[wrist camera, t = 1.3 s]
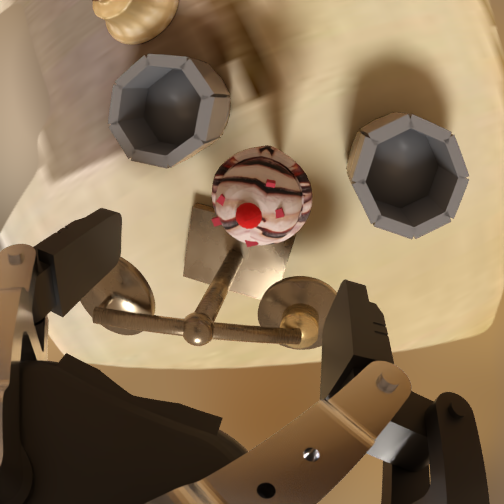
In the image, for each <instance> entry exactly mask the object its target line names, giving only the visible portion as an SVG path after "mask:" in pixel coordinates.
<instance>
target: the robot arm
mask: <svg viewBox="0 0 504 504" xmlns="http://www.w3.org/2000/svg"><path fill="white" fill-rule="evenodd" d="M121 229H122V217H121V215H120V213H118V212H114V211H111V210H107V209H104V208H100V209H98V210H97V211H95V212H93V213H92V214H90V215H88V216H87V217H85V218H82V219H79V220H75V221H73V222H72V223H70V224H68V225H67V226H65V228H62V229H60V230H59V231H58V232H57V233H54V234H52V235H51V236H49V237H48V238H46V239H45V240H43V241H42V242H40V243H39V244H37V245H36V246H34V247H32V246H30V245H26V244H16V245H12V246H9V247H6V248H5V249H3V250H2V251H1V252H0V504H317V503H318V502H319V501H320V500H321V499H322V498H323V497H325V496H326V495H327V494H328V493H329V492H330V491H331V490H332V489H333V488H334V487H335V486H336V485H337V484H338V483H339V482H340V481H341V480H342V479H343V478H344V477H345V476H346V474H348V472H349V471H350V470H351V469H352V468H353V467H354V466H355V465H356V464H357V463H358V462H359V461H360V459H361V458H362V457H363V456H364V455H365V454H366V453H367V454H369V455H371V456H374V457H376V458H378V459H381V460H383V481H382V501H381V504H490V503H489V494H488V486H487V479H486V472H485V466H484V461H483V455H482V450H481V444H480V440H479V435H478V430H477V426H476V422H475V418H474V414H473V411H472V408H471V407H470V405H469V404H468V402H467V401H466V400H465V399H464V398H462V397H461V396H459V395H458V394H455V393H452V392H445V393H442V394H440V395H439V397H438V398H437V399H436V400H435V401H434V402H433V401H431V400H429V399H427V398H424V397H423V396H420V395H418V394H416V393H414V392H412V391H411V383H410V380H409V378H408V376H407V375H406V374H405V373H404V371H403V370H401V369H400V368H399V367H397V366H396V365H394V362H393V357H392V352H391V347H390V342H389V337H388V336H387V335H388V333H387V328H386V327H385V326H386V324H385V320H384V315H383V313H382V312H381V311H380V309H379V308H378V306H377V305H376V304H375V303H371V302H369V299H368V294H367V289H366V286H365V285H362V284H358V283H355V282H351V281H348V280H343V282H342V283H341V285H340V288H339V290H338V292H337V294H336V297H335V299H334V301H333V303H332V306H331V308H330V310H329V312H328V315H327V317H326V320H325V323H324V327H323V333H322V365H321V385H320V401H319V402H317V403H316V404H314V405H313V406H312V407H311V408H309V409H308V410H307V411H305V412H304V413H303V414H301V415H300V416H299V417H297V418H296V419H295V420H294V421H292V422H291V423H289V424H288V425H286V426H285V427H284V428H282V429H281V430H280V431H278V432H277V433H275V434H274V435H272V436H271V437H270V438H268V439H267V440H265V441H264V442H262V443H261V444H259V445H258V446H256V447H255V448H253V449H252V450H250V451H249V452H248V451H247V450H246V449H245V448H244V447H243V446H242V445H241V444H240V443H238V442H237V441H236V440H235V439H233V438H232V437H230V436H229V435H228V434H226V433H224V432H223V431H221V430H219V427H220V424H221V421H222V418H221V417H218V416H215V415H212V414H208V413H205V412H202V411H199V410H196V409H193V408H190V407H188V406H185V405H182V404H179V403H172V402H166V401H160V400H154V399H148V398H142V397H137V396H133V395H131V394H129V393H128V392H127V391H125V390H124V389H123V388H121V387H120V386H119V385H117V384H116V383H115V382H114V381H112V380H111V379H110V378H109V377H107V376H106V375H105V374H104V373H102V372H101V371H100V370H98V369H96V368H94V367H92V366H90V365H88V364H86V363H84V362H82V361H80V360H79V359H77V358H75V357H73V356H71V355H69V354H67V353H66V354H65V355H64V357H63V358H62V359H61V360H60V362H59V363H58V362H52V361H48V317H47V314H48V313H49V312H50V311H52V312H54V313H56V314H57V315H59V316H61V317H64V316H65V315H66V314H67V313H68V312H69V311H70V310H71V309H72V308H73V307H74V306H75V305H76V304H77V303H78V302H79V301H80V300H81V299H82V298H83V297H84V296H85V295H86V294H87V293H88V292H89V291H90V290H91V289H92V288H93V287H94V286H95V285H96V284H97V283H98V282H99V281H101V280H102V279H103V278H104V277H105V276H106V275H107V274H108V273H109V272H110V271H111V270H112V269H113V268H114V267H115V266H116V265H117V263H118V261H119V258H120V254H121ZM429 464H430V475H431V482H430V478H429Z"/></svg>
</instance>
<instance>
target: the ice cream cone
mask: <svg viewBox="0 0 504 504" xmlns="http://www.w3.org/2000/svg"><path fill="white" fill-rule="evenodd" d="M212 202H213V207H214V210H215V213H216V215H217V217H214V218H212V219H211V220H212V222H213V225H214V227H215V226H219V225H222V226H223V227H224V229H225V230H226V231H227V232H228V233H229V234H230V235H231V236H232V237H234V238H236V239H237V240H239V241H241V242H244V243H246V245H247V247H251V246H255V245H270V244H277V243H279V242H282V241H285V240H286V239H288V238H290V237H291V236H293V235H294V234H295V233H296V232H297V231H299V230H300V228H301V227H302V226H303V225H304V223H305V222H306V220H307V218H308V216H309V214H310V211H311V206H312V190H311V185H310V182H309V180H308V178H307V175H306V174H305V172H304V171H303V170H302V168H301V167H300V166H299V165H298V164H297V163H296V162H295V161H294V160H293V159H292V158H290V157H289V156H287V155H286V154H285V153H283V152H282V151H280V150H278V149H277V148H275V147H272V146H268V145H267V146H261V147H254V148H249V149H245V150H243V151H241V152H238V153H236V154H235V155H233V156H232V157H230V158H229V159H227V160H226V161H225V162H224V163H223V164H222V165H221V166H220V167H219V169H218V171H217V172H216V174H215V177H214V181H213V186H212Z"/></svg>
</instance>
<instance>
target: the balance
mask: <svg viewBox="0 0 504 504" xmlns="http://www.w3.org/2000/svg"><path fill="white" fill-rule="evenodd" d="M214 217H217V215H216V213H215V210H214V207H210V206H206V205H203V204H199V203H197V204H195V205H194V206H193V209H192V215H191V222H190V229H189V236H188V243H187V250H186V257H185V265H184V273H183V276H185V277H188V278H191V279H194V280H197V281H200V282H203V283H207V284H210V285H209V287H208V289H207V291H206V292H205V294H204V296H203V298H202V300H201V301H200V303H199V305H198V307H197V308H196V310H195V312H194V313H191V314H189V315H188V316H186V317H185V319H180V318H172V317H164V316H156V315H154V313H155V300H154V296H153V293H152V290H151V288H150V286H149V284H148V282H147V281H146V279H145V278H144V276H143V275H142V274H141V273H140V272H139V270H138V269H137V268H136V267H134V266H133V265H132V264H131V263H130V262H128V261H127V260H125V259H124V258H122V257H120V258H119V261H118V263H117V265H116V266H115V267H114V268H113V269H112V270H111V271H110V272H109V273H108V274H107V275H106V276H105V277H104V278H103V279H102V280H101V281H99V282H98V283H97V284H96V285H95V286H94V287H93V288H92V289H91V290H90V291H89V292H88V293H87V294H86V295H85V296H84V297H83V298H82V299H81V300H80V301H81V303H82V305H83V306H84V308H85V309H86V311H87V312H88V313H89V314H90V315H91V317H92V318H93V323H96V324H101V325H102V326H103V327H105V328H107V329H108V330H110V331H113V332H115V333H118V334H122V335H135V334H138V333H140V332H142V331H148V332H155V333H163V334H171V335H179V336H183V337H184V339H185V340H186V341H187V342H188V343H190V344H191V345H194V346H202V345H205V344H207V343H209V342H210V341H211V340H212V339H218V340H229V341H242V342H256V343H273V344H280V345H282V346H285V347H288V348H292V349H303V350H304V349H312V348H316V347H320V346H322V333H323V327H324V323H325V320H326V317H327V315H328V312H329V310H330V308H331V306H332V303H333V301H334V299H335V297H336V294H337V292H336V291H335V290H334V289H333V288H332V287H331V286H330V285H328V284H327V283H325V282H323V281H321V280H318V279H316V278H312V277H306V276H294V277H288V278H285V279H282V277H283V274H284V271H285V268H286V264H287V261H288V258H289V255H290V252H291V249H292V246H293V242H294V239H295V236H296V233H295V234H294V235H293V236H291V237H290V238H288V239H286V240H285V241H282V242H279V243H277V244H270V245H255V246H251V247H247V245H246V243H244V242H241V241H239V240H237V239H236V238H234V237H232V236H231V235H230V234H229V233H228V232H227V231H226V230H225V229H224V227H223V226H222V225H219V226H215V227H214V225H213V222H212V220H211V219H212V218H214ZM228 291H232V292H236V293H239V294H242V295H246V296H249V297H252V298H256V299H259V300H261V301H260V304H259V308H258V320H259V324H260V326H249V325H237V324H227V323H216V322H214V321H215V319H216V317H217V314H218V312H219V310H220V308H221V306H222V304H223V301H224V299H225V297H226V295H227V293H228Z"/></svg>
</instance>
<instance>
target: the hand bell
mask: <svg viewBox="0 0 504 504" xmlns="http://www.w3.org/2000/svg"><path fill="white" fill-rule="evenodd" d="M92 1H93V10H94V12H95V14H96V15H97V16H98V17H100V18H102V19H104V20H105V21H106V26H107V29H108V31H109V33H110V34H111V36H112V37H113V38H114V39H116V40H117V41H119V42H121V43H124V44H140V43H144V42H146V41H149V40H151V39H153V38H154V37H156V36H157V35H159V34H160V33H161V32H162V31H163V30H164V29H165V28H166V27H167V26H168V25H169V24H170V22H171V21H172V19H173V17H174V15H175V13H176V11H177V8H178V3H179V0H92Z"/></svg>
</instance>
